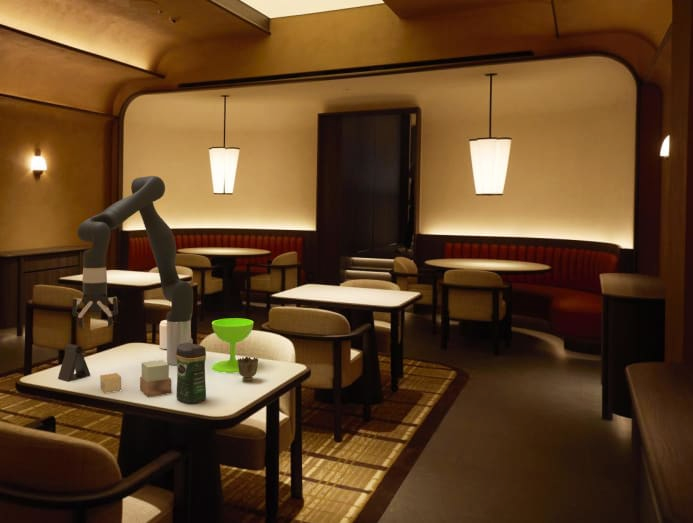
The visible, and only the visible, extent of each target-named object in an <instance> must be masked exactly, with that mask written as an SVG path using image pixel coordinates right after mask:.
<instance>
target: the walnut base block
mask: <svg viewBox="0 0 693 523" xmlns="http://www.w3.org/2000/svg"><path fill="white" fill-rule="evenodd" d="M139 392H141V393H142V392H143V393H144V396H146V397H147V398H151V397H156V395H157V396H162V394H163V395H168V394H167V393H169V394H172V393H173V392H172V378H170V377H169V379H166V380H160V381H153V382H147V381H146V380H145V379H143V378H142V376H140V377H139ZM143 393H142V394H143ZM150 396H151V397H150Z"/></svg>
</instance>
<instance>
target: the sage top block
mask: <svg viewBox="0 0 693 523" xmlns="http://www.w3.org/2000/svg"><path fill="white" fill-rule="evenodd" d="M169 366H170V364H168V363H167V361H165V360H163V359H160V360H152V361H143V362H141V377H142V378H143V379H145V380H146V381H147V382H153V381H160V380H166V379H169V378H170V367H169Z"/></svg>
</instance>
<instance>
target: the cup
mask: <svg viewBox="0 0 693 523" xmlns="http://www.w3.org/2000/svg"><path fill="white" fill-rule="evenodd" d="M237 360H238V368H239V375H240V376H241V377H242V380H243V382H246V381H249V382H252V381H253V380H254V376H256V374H257V371H258V366H259V358H258V357H255V356H254V357H253V358H251V357H250V356H249V357H248V356H245V357H239V358H238V359H237Z"/></svg>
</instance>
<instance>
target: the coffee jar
mask: <svg viewBox="0 0 693 523" xmlns="http://www.w3.org/2000/svg"><path fill="white" fill-rule="evenodd" d="M176 358H177V365H176V366H177V368H176V372H177V374H176V377H177V378H176V394H175V395H176V396H175V397H176V399H177V400H179V401H180V402H183V403H186V404H194V403H196V402H198V403H201V402H202V401H205V400H206V399H207V387H206V385H207V384H206V358H207V350H206V347H205V346H204V345H199V344H195V343H193V344H192V343H190V342H189V343H182V344H179V346H178V347H177V351H176ZM200 401H201V402H200ZM196 404H197V403H196Z"/></svg>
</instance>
